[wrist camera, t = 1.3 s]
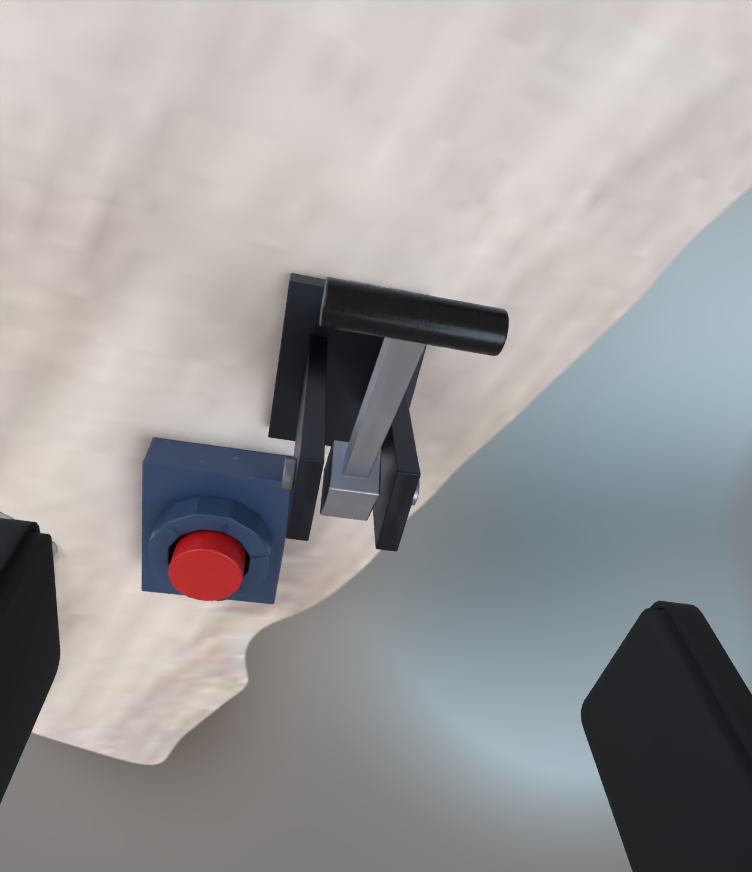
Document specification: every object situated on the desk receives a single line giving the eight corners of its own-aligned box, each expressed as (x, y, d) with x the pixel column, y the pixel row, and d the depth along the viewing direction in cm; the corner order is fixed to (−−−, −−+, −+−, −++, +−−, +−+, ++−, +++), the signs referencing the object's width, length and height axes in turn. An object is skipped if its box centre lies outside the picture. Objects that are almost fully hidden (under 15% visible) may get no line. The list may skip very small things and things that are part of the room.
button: (175, 525, 38) (169, 545, 37) (249, 534, 39) (245, 554, 37) (173, 576, 40) (166, 597, 39) (242, 583, 41) (239, 604, 40)
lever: (329, 254, 19) (322, 315, 17) (506, 288, 19) (512, 348, 18) (289, 464, 30) (283, 511, 28) (403, 479, 30) (402, 525, 29)
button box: (153, 437, 39) (133, 481, 36) (297, 456, 41) (293, 501, 37) (151, 562, 45) (134, 612, 42) (277, 576, 47) (271, 625, 43)
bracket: (290, 273, 34) (269, 391, 23) (434, 299, 35) (475, 423, 25) (269, 426, 39) (244, 580, 29) (394, 444, 41) (415, 598, 30)
